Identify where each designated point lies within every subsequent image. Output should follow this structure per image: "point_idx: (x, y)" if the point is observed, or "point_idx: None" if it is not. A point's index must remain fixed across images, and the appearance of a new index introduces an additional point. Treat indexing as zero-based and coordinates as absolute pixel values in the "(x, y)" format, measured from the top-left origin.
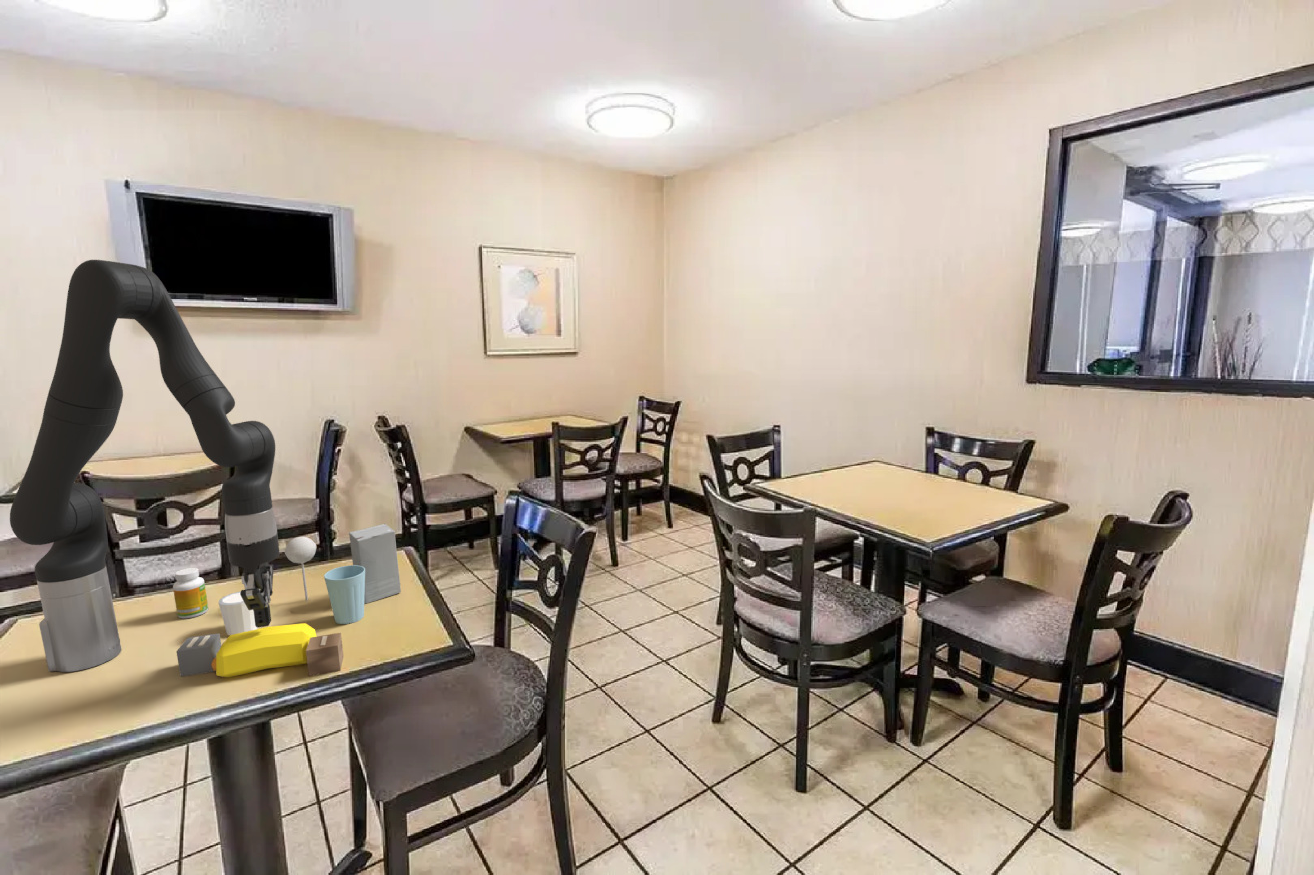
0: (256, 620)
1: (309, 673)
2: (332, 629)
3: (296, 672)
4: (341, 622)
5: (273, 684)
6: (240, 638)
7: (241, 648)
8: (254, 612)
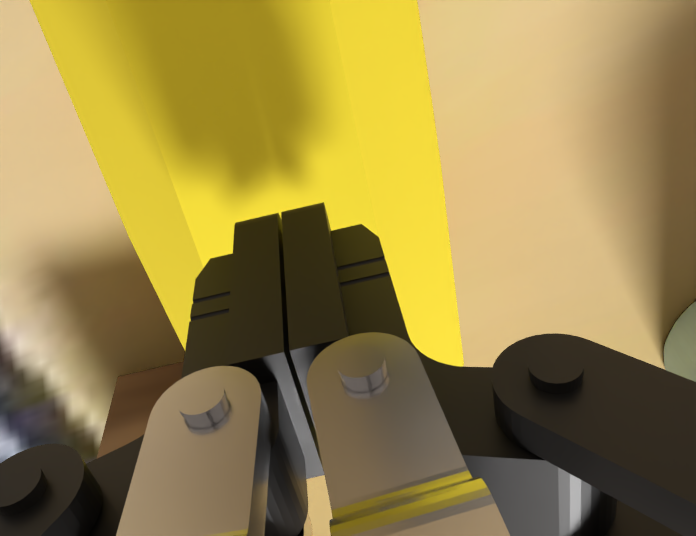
0: (195, 304)
1: (116, 390)
2: (629, 298)
3: (158, 307)
4: (678, 330)
5: (27, 246)
6: (213, 15)
7: (84, 79)
8: (234, 331)
